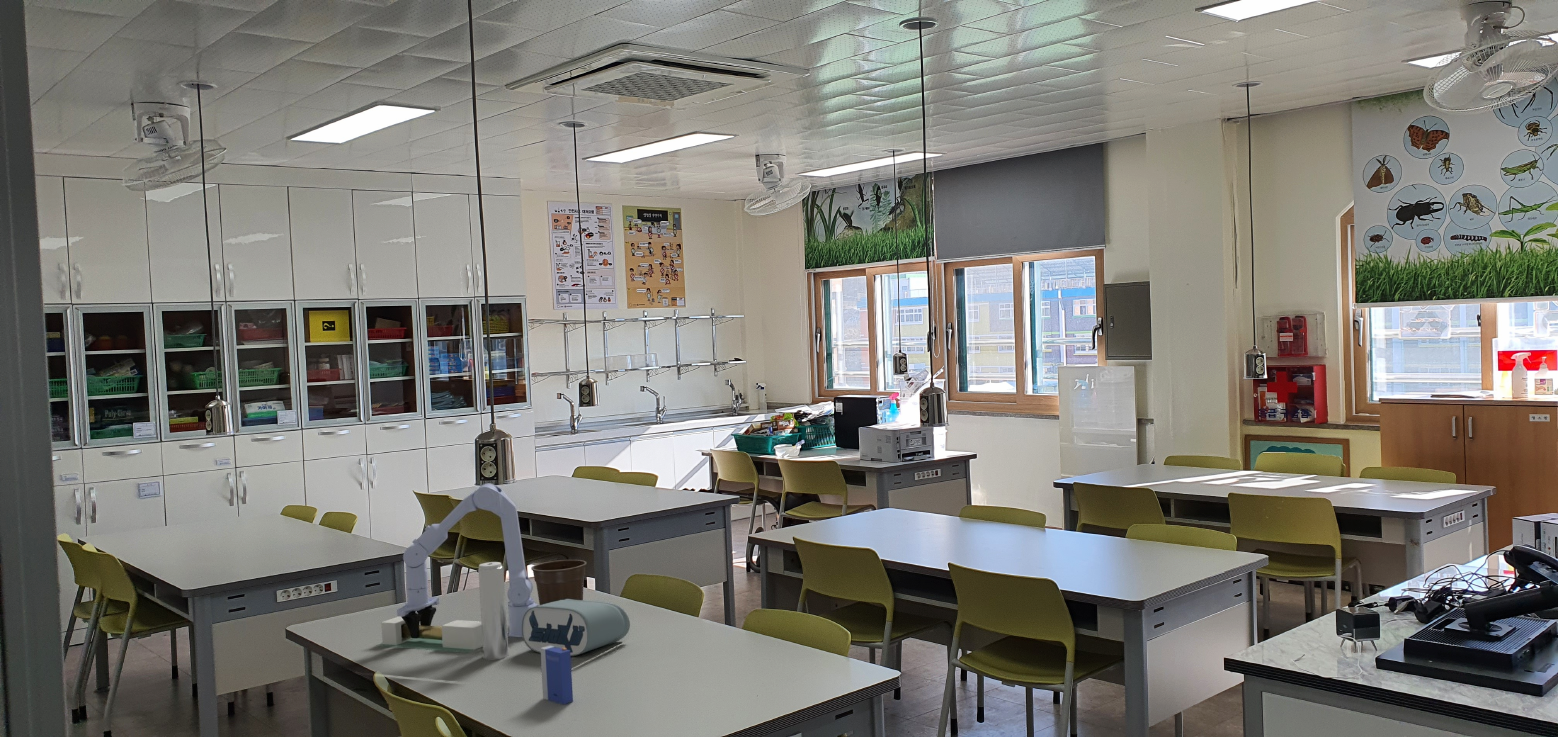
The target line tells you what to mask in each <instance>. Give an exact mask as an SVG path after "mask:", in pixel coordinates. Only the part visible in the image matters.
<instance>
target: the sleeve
mask: <svg viewBox="0 0 1558 737" xmlns="http://www.w3.org/2000/svg"><path fill="white" fill-rule="evenodd" d="M441 627H442V642H443V647H447V648H460V649H473V650H474V651H476V650H478V649H481V648H483V647H482V646H483V640H482V623H481V620H480V621H479V620H477V621H476V620H461V619H455V620H453V621H450V622H448V623H444V624H443V625H441ZM480 647H481V648H480ZM477 648H478V649H477ZM475 649H476V650H475Z"/></svg>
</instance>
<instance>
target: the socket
mask: <svg viewBox="0 0 1558 737" xmlns="http://www.w3.org/2000/svg"><path fill="white" fill-rule="evenodd" d="M401 624H406V623H405V621H404V620H403V619H402V617H401V616H396V617H392V618H390V619H386V620H384V621H381V638H382V643H383V644H388V645H398V644H401V643H404V642H406V641H409V640H412V639H414V638H402V635H401Z"/></svg>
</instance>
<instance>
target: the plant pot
mask: <svg viewBox="0 0 1558 737" xmlns="http://www.w3.org/2000/svg"><path fill="white" fill-rule="evenodd" d="M586 566H587V561H585V560H581V559H560V560H559V559H558V560H553V561H547V562H542V563H538V564H534V565H532V566H531V571H532V573H533V579H534V582H535V583H536V590H537V591H536V592H537V596H538V603H539V604H538V605H543V604H547V603H551V602H555V601H560V600H565V599H572V600H582V601H584V584H585V583H584V582H585V580H584V579H585V576H586V575H585V574H586Z"/></svg>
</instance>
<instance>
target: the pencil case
mask: <svg viewBox="0 0 1558 737" xmlns="http://www.w3.org/2000/svg"><path fill="white" fill-rule="evenodd" d="M539 605H540V604H539ZM630 626H631V622H630V617H629V615H628V614H627V612H626V611H625V610H624V609H623V608H622V607H621V606H620V605H618V604H616V603H613V602H608V601H601V600H600V601H599V600H583V601H582V600H572V599H565V600H560V601H555V602H551V603H547V604H543V605H540V606H536V607H533V608H530V609H528V610H527V611H526V612H525V614H524V616H523V619H522V636H523V637H522V640H523V642H524V644H525V645H526V647H528V648H529V649H530V650H532V651H533V652H536V653H539V654H541V648H542V647H547V646H554V647H558V648H567V650H570V656H571V657H575V656H578V655H581V654H585V653H587V652H589V651H593V650H595V649H599V648H602V647H604V646H607V645H611V644H615V643H617V642H619V641H621V640H622V639H624V638H625V636H626V635H627V634H628V633H629V631H630Z"/></svg>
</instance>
